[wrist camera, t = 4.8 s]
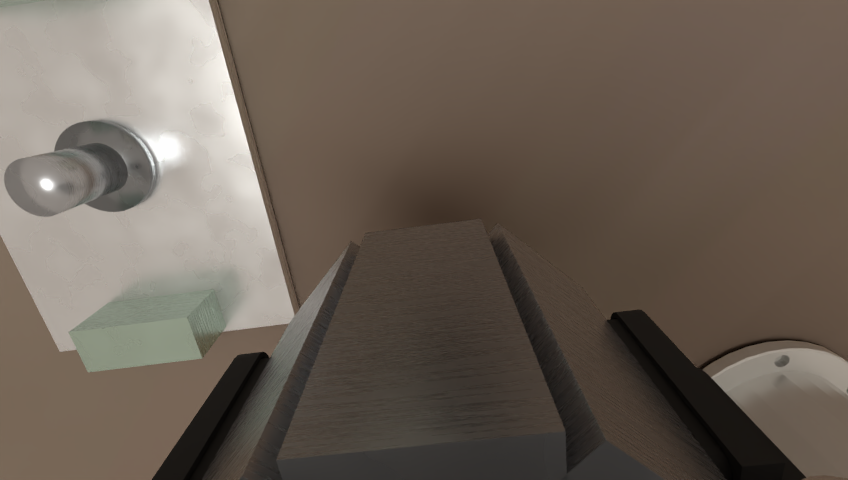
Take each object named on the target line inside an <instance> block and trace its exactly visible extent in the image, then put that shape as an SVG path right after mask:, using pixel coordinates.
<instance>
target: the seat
mask: <svg viewBox="0 0 848 480" xmlns="http://www.w3.org/2000/svg"><path fill="white" fill-rule="evenodd" d="M0 235H1V237H2V239H3V241H4V243H5V245H6V247H7V249H8V251H9V253H10V255H11V257H12V258H13V260H14V262H15V264H16V266H17V268H18V270H19V272H20V274H21V276H22V278H23V280H24V282H25V284H26V286H27V288H28V290H29V292H30V294H31V296H32V298H33V300H34V302H35V304H36V306H37V308H38V310H39V312H40V314H41V315H42V317H43V319H44V321H45V323H46V325H47V327H48V329H49V331H50V333H51V335H52V337H53V339H54V341H55V343H56V345H57V347H58V349H59V351H60V352H61V351H69V350H77V351H78V353H79V355H80V357H81V359H82V361H83V363H84V365H85V367H86V369H87V371H88V372H94V371H103V370H111V369H119V368H127V367H136V366H144V365H152V364H160V363H169V362H177V361H185V360H193V359H202V358H203V357H204V355H205V354H206V353H207V352H208V350H209V349H210V348H211V346H212V345H213V344H214V342H215V341H216V340H217V338H218V337H219V336H220V334H221V333H222V332H223V331H231V330H240V329H248V328H256V327H264V326H272V325H280V324H288V323H290V321H291V320H292V319H293V317H294V316H295V315H296V313H297V312H298V311H299V309H300V308H299V305H298V301H297V297H296V293H295V290H294V286H293V282H292V278H291V275H290V271H289V267H288V263H287V260H286V256H285V252H284V248H283V245H282V241H281V237H280V233H279V230H278V226H277V222H276V218H275V214H274V211H273V207H272V203H271V199H270V196H269V192H268V188H267V184H266V181H265V177H264V173H263V169H262V166H261V162H260V158H259V154H258V151H257V147H256V143H255V139H254V136H253V132H252V128H251V124H250V121H249V117H248V113H247V109H246V106H245V102H244V98H243V94H242V91H241V87H240V83H239V79H238V76H237V72H236V68H235V64H234V60H233V57H232V53H231V49H230V45H229V42H228V38H227V34H226V30H225V27H224V23H223V19H222V15H221V12H220V8H219V4H218V0H0Z"/></svg>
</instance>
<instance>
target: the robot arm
mask: <svg viewBox="0 0 848 480" xmlns="http://www.w3.org/2000/svg"><path fill="white" fill-rule="evenodd" d="M607 321H608V323H609V324H610V325H611V327H612V328H613V329H614V331H615V332H616V333H617V335H618V336H619V337H620V339H621V340H622V341H623V343H624V344H625V345H626V347H627V348H628V349H629V351H630V352H631V353H632V355H633V356H634V357H635V359H636V360H637V361H638V363H639V364H640V365H641V367H642V368H643V369H644V371H645V372H646V373H647V375H648V376H649V377H650V379H651V380H652V381H653V383H654V384H655V385H656V387H657V388H658V389H659V390H660V392H661V393H662V394H663V396H664V397H665V398H666V400H667V401H668V402H669V404H670V405H671V406H672V408H673V409H674V410H675V412H676V413H677V414H678V416H679V417H680V418H681V420H682V421H683V422H684V424H685V425H686V426H687V428H688V429H689V430H690V432H691V433H692V434H693V436H694V437H695V438H696V440H697V441H698V442H699V444H700V445H701V446H702V448H703V449H704V450H705V452H706V453H707V454H708V456H709V457H710V458H711V460H712V461H713V462H714V464H715V465H716V466H717V468H718V469H719V470H720V472H721V473H722V474H723V476H724V477H725V478H726V480H848V362H847V361H846V360H844V359H843V358H841V357H840V356H839V355H837V354H835V353H834V352H832V351H830V350H828V349H826V348H824V347H822V346H819V345H815V344H812V343H808V342H801V341H789V340H786V341H773V342H765V343H761V344H756V345H752V346H748V347H745V348H742V349H740V350H737V351H735V352H732V353H729V354H727V355H725V356H723V357H722V358H720V359H718V360H716V361H714V362H713V363H711V364H709V365H708V366H707V367H705V368H704V369H703V370H702V369H699V368H696V367H695V366H694V365H693V364H692V363H691V361H690V360H689V359H688V358H687V357H686V356H685V355H684V354H683V353H682V352H681V351H680V350H679V349H678V348H677V347H676V345H675V344H674V343H673V342H672V341H671V340H670V339H669V338H668V337H667V336H666V335H665V334H664V333H663V332H662V331H661V329H660V328H659V327H658V326H657V325H656V324H655V323H654V322H653V321H652V320H651V319H650V318H649V317H648V316H647V314H646V313H645V312H643V311H642V310H632V311H623V312H615V313H613V314H612V316H611V320H607ZM269 359H270V358H269V357H268V355H267V354H266V353H265V352H259V353H250V354H241V355H237V357H236V358H235V359H234V360H233V362H232V363H231V365H230V366H229V368H228V369H227V370H226V372H225V373H224V375H223V376H222V378H221V379H220V381H219V382H218V384H217V385H216V387H215V388H214V389H213V391H212V392H211V394H210V395H209V397H208V398H207V400H206V401H205V403H204V404H203V406H202V407H201V408H200V410H199V411H198V413H197V414H196V416H195V417H194V419H193V420H192V422H191V423H190V425H189V426H188V427H187V429H186V430H185V432H184V433H183V435H182V436H181V438H180V439H179V441H178V442H177V444H176V445H175V446H174V448H173V449H172V451H171V452H170V454H169V455H168V457H167V458H166V460H165V461H164V463H163V464H162V466H161V467H160V468H159V470H158V471H157V473H156V474H155V476H154V477H153V479H152V480H202V479H203V477H204V475H205V473H206V471H207V470H208V468H209V466H210V464H211V462H212V461H213V459H214V457H215V455H216V454H217V452H218V450H219V448H220V446H221V445H222V443H223V441H224V439H225V437H226V436H227V434H228V432H229V430H230V429H231V427H232V425H233V423H234V421H235V420H236V418H237V416H238V414H239V412H240V411H241V409H242V407H243V405H244V404H245V402H246V400H247V398H248V396H249V395H250V393H251V391H252V389H253V387H254V386H255V384H256V382H257V380H258V379H259V377H260V375H261V373H262V371H263V370H264V368H265V366H266V364H267V362H268V361H269Z"/></svg>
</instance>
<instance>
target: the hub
mask: <svg viewBox="0 0 848 480" xmlns="http://www.w3.org/2000/svg"><path fill="white" fill-rule="evenodd" d="M202 480H726V478H725V477H724V476H723V474H722V473H721V472H720V470H719V469H718V468H717V466H716V465H715V464H714V462H713V461H712V460H711V458H710V457H709V456H708V454H707V453H706V452H705V450H704V449H703V448H702V446H701V445H700V444H699V442H698V441H697V440H696V438H695V437H694V436H693V434H692V433H691V432H690V430H689V429H688V428H687V426H686V425H685V424H684V422H683V421H682V420H681V418H680V417H679V416H678V414H677V413H676V412H675V410H674V409H673V408H672V406H671V405H670V404H669V402H668V401H667V400H666V398H665V397H664V396H663V394H662V393H661V392H660V390H659V389H658V388H657V387H656V385H655V384H654V383H653V381H652V380H651V379H650V377H649V376H648V375H647V373H646V372H645V371H644V369H643V368H642V367H641V365H640V364H639V363H638V361H637V360H636V359H635V357H634V356H633V355H632V353H631V352H630V351H629V349H628V348H627V347H626V345H625V344H624V343H623V341H622V340H621V339H620V337H619V336H618V335H617V333H616V332H615V331H614V329H613V328H612V327H611V325H610V324H609V323H608V321H607V320H606V319H605V317H604V316H603V315H602V313H601V312H600V311H599V309H598V308H597V307H596V305H595V304H594V303H593V301H592V300H591V299H590V297H589V296H588V295H587V293H586V292H585V291H584V289H583V288H582V287H581V286H580V285H578V284H577V283H576V282H574V281H573V280H572V279H570V278H569V277H568V276H567V275H565V274H564V273H563V272H561V271H560V270H559V269H557V268H556V267H555V266H553V265H552V264H551V263H550V262H548V261H547V260H546V259H544V258H543V257H542V256H540V255H539V254H538V253H536V252H535V251H534V250H533V249H531V248H530V247H529V246H527V245H526V244H525V243H523V242H522V241H521V240H519V239H518V238H517V237H516V236H514V235H513V234H512V233H510V232H509V231H508V230H506V229H505V228H504V227H502V226H501V225H500V224H499V223H497V224H496V226H495V227H494V228H493V229H492V230H491V231H490V232H489V234H487V232H486V229H485V227H484V224H483V222H482V219H474V220H466V221H458V222H450V223H442V224H434V225H426V226H418V227H410V228H402V229H394V230H386V231H378V232H370V233H365V236H364V238H363V241H362V243H361V246H360V247H359V246H358V245H356V244H355V243H353V242H352V241H351V242H350V243H349V245H348V246H347V247H346V249H345V250H344V251H343V253H342V254H341V255H340V256H339V258H338V259H337V260H336V262H335V263H334V264H333V266H332V267H331V268H330V270H329V271H328V272H327V274H326V275H325V276H324V278H323V279H322V280H321V282H320V283H319V284H318V286H317V287H316V288H315V290H314V291H313V292H312V294H311V295H310V296H309V297H308V299H307V300H306V301H305V303H304V304H303V305H302V307H301V308H300V309H299V311H298V312H297V313H296V315H295V316H294V317H293V319H292V320H291V321H290V323H289V325H288V327H287V329H286V330H285V332H284V334H283V336H282V337H281V339H280V341H279V343H278V345H277V346H276V348H275V350H274V352H273V354H272V355H271V357H270V359H269V361H268V362H267V364H266V366H265V368H264V370H263V371H262V373H261V375H260V377H259V379H258V380H257V382H256V384H255V386H254V387H253V389H252V391H251V393H250V395H249V396H248V398H247V400H246V402H245V404H244V405H243V407H242V409H241V411H240V412H239V414H238V416H237V418H236V420H235V421H234V423H233V425H232V427H231V429H230V430H229V432H228V434H227V436H226V437H225V439H224V441H223V443H222V445H221V446H220V448H219V450H218V452H217V454H216V455H215V457H214V459H213V461H212V462H211V464H210V466H209V468H208V470H207V471H206V473H205V475H204V477H203V479H202Z"/></svg>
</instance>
